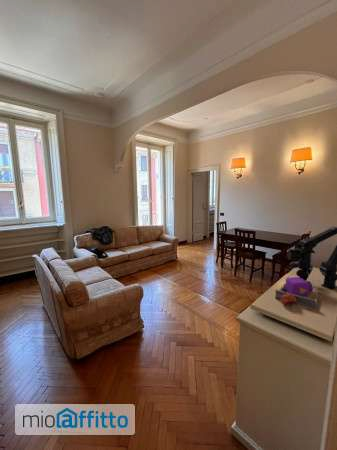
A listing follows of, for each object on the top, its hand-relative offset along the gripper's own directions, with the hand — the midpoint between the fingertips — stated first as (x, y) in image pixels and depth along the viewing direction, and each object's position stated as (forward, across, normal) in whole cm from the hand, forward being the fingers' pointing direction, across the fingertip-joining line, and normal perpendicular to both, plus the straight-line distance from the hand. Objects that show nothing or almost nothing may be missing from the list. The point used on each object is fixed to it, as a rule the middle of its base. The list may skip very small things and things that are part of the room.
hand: (304, 282), depth 133 cm
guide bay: (+3, +17, 0) cm, 18 cm away
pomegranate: (+3, +31, -2) cm, 31 cm away
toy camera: (+3, +13, 0) cm, 13 cm away
